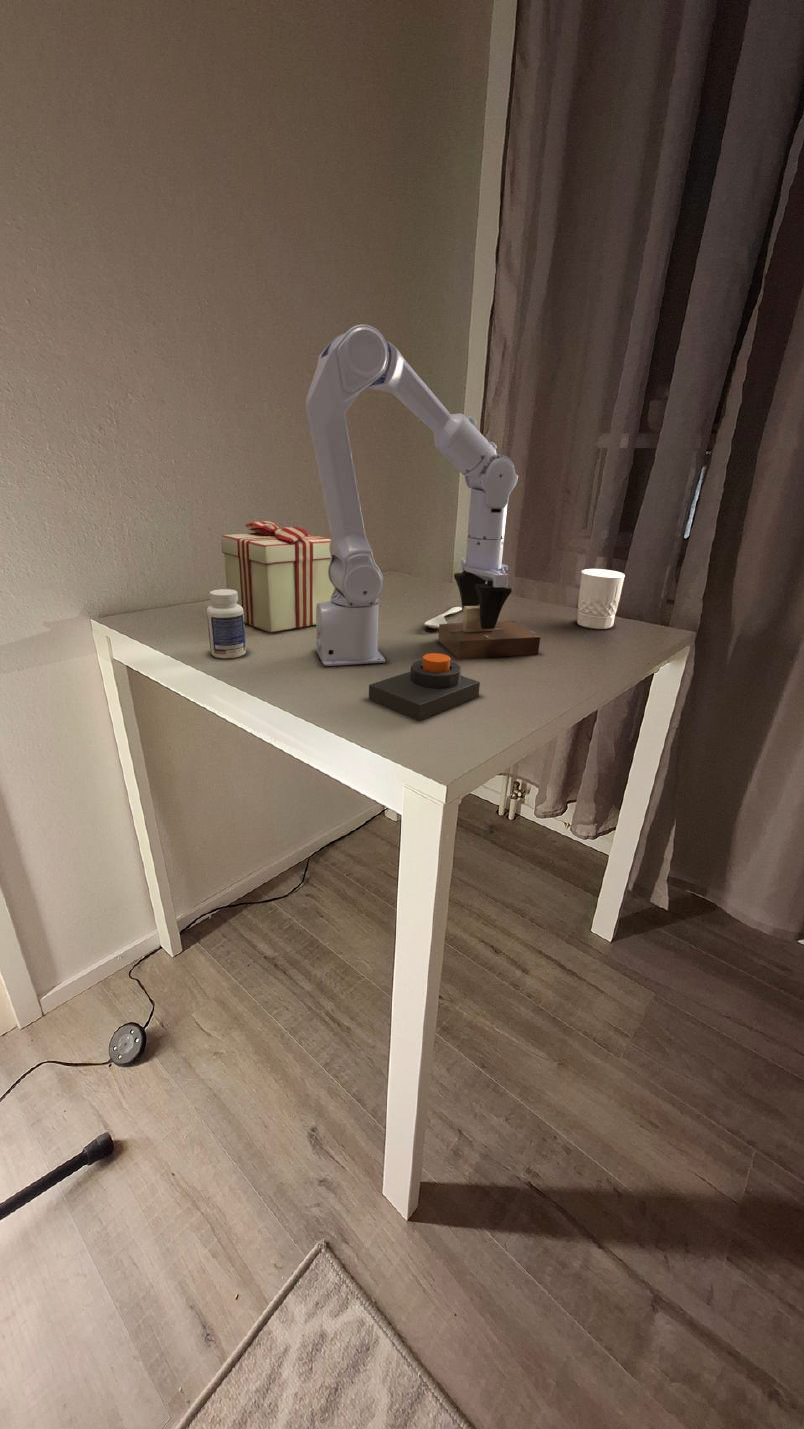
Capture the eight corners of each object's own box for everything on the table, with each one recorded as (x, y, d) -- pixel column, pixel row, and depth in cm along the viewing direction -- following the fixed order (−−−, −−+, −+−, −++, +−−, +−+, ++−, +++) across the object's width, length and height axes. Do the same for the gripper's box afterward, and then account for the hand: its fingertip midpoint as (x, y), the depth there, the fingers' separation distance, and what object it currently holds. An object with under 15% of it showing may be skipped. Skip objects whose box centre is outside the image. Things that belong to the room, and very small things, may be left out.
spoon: (418, 631, 111) (419, 622, 110) (449, 606, 129) (449, 598, 128) (440, 634, 110) (441, 625, 109) (468, 608, 128) (469, 601, 127)
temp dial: (465, 632, 101) (467, 607, 99) (461, 629, 102) (463, 604, 100) (493, 631, 102) (495, 605, 100) (489, 628, 103) (491, 603, 102)
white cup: (582, 617, 125) (590, 567, 121) (621, 624, 121) (630, 572, 116) (567, 624, 119) (575, 572, 115) (607, 632, 115) (617, 579, 111)
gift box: (352, 617, 118) (352, 524, 111) (274, 636, 105) (269, 532, 98) (294, 601, 128) (291, 515, 121) (217, 617, 115) (209, 521, 108)
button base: (418, 721, 75) (420, 691, 74) (368, 700, 81) (368, 671, 79) (478, 696, 83) (481, 669, 82) (429, 679, 89) (430, 652, 87)
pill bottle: (253, 654, 96) (249, 592, 92) (223, 661, 92) (217, 597, 89) (234, 646, 99) (229, 586, 95) (204, 653, 96) (197, 591, 92)
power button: (437, 676, 80) (438, 663, 79) (416, 669, 82) (417, 656, 81) (454, 670, 82) (455, 657, 81) (434, 663, 84) (435, 651, 83)
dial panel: (458, 659, 97) (460, 640, 96) (438, 640, 106) (439, 623, 105) (538, 654, 101) (540, 635, 100) (512, 636, 110) (513, 619, 109)
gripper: (530, 543, 91) (520, 633, 96) (490, 530, 103) (483, 609, 109) (486, 544, 89) (478, 635, 94) (451, 530, 101) (446, 611, 107)
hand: (478, 622), depth 101 cm, fingers open, 7 cm apart
